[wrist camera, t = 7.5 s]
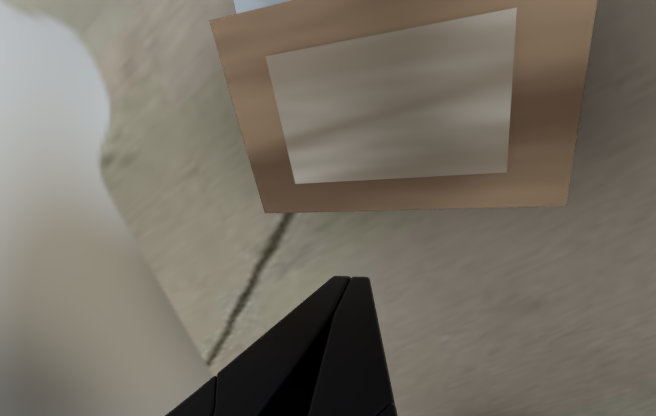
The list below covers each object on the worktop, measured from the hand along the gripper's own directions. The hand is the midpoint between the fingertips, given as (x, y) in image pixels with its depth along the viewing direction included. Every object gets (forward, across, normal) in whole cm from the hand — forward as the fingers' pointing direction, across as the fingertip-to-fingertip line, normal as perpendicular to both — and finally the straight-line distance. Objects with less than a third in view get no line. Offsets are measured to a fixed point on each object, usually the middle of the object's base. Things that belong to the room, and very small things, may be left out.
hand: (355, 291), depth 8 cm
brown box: (+8, 0, +1) cm, 9 cm away
